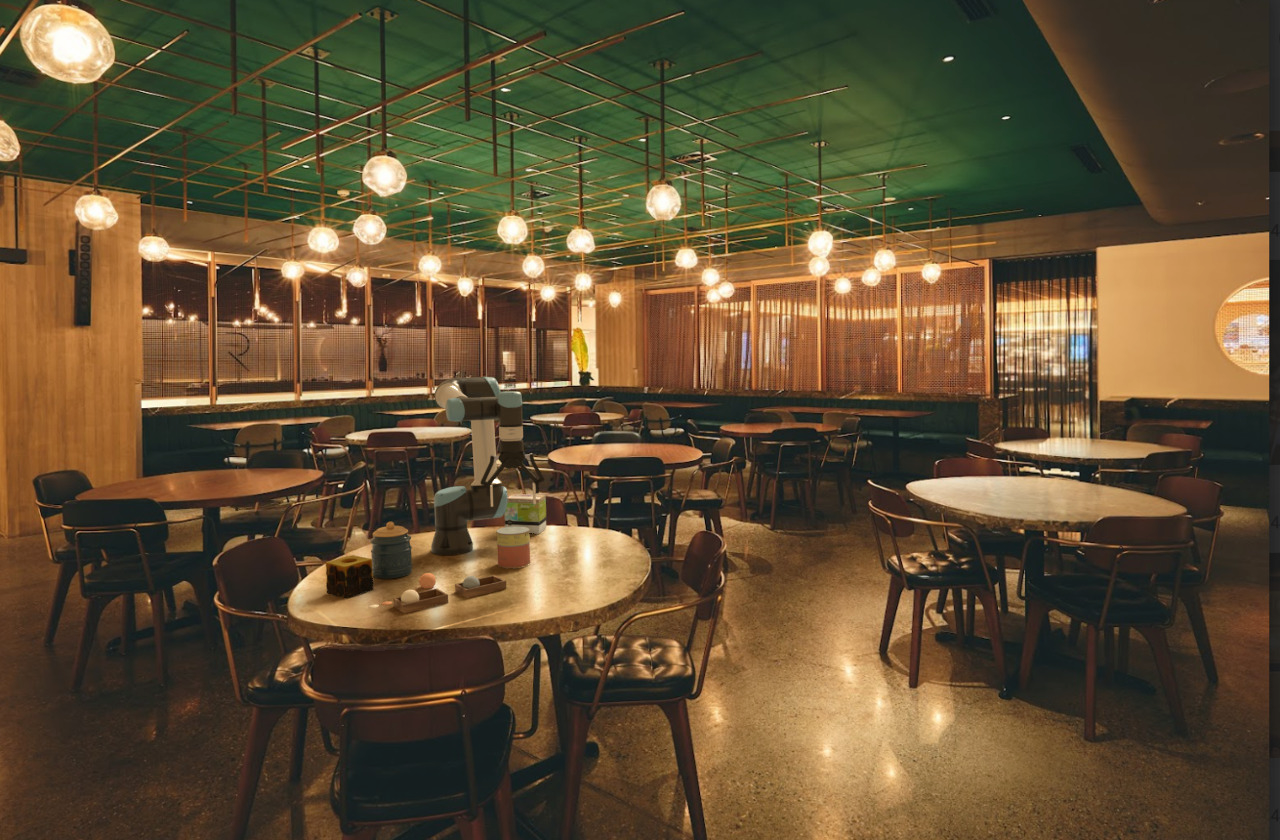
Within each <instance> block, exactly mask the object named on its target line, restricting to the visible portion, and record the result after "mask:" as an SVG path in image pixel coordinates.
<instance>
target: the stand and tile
mask: <svg viewBox="0 0 1280 840" xmlns="http://www.w3.org/2000/svg"><path fill="white" fill-rule="evenodd" d="M381 605H383V606H388V605H389V606H390V605H393V601H383V602H382V603H381ZM379 606H380V605H379V604H370V605H368V606H367V609H375V608H378V607H379Z"/></svg>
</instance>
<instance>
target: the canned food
mask: <svg viewBox="0 0 1280 840" xmlns="http://www.w3.org/2000/svg"><path fill="white" fill-rule="evenodd" d="M529 530H530V529H529V528H528V527H523V526H511V527H505V526H504V527H501V528H498V529H497V530H496V542H497V543H496V544H497V547H496V549H497V566H498V567H500V568H503V569H508V568H513V569H519V568H518V567H521V568H523V567H522V566H525V567H527V566H526V565H528V564H529V565H531V546H530V545H531V544H530V543H531V540H530V538H531V537H530V534H529ZM529 565H528V566H529Z"/></svg>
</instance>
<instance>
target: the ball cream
mask: <svg viewBox="0 0 1280 840" xmlns="http://www.w3.org/2000/svg"><path fill="white" fill-rule="evenodd" d="M418 593H419V592H417V590H414V589H407V590H405V591H404V592H402V594H401V596H400V597H401V602H403V603H404V604H407V603H412V602H416V601H419V594H418Z"/></svg>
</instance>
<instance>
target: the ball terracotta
mask: <svg viewBox="0 0 1280 840" xmlns="http://www.w3.org/2000/svg"><path fill="white" fill-rule="evenodd" d="M436 583H437V579H436V576H435V575H434V574H432V573H430V572H425V573H423V574H422V575H421V576H419V581H418V585H419V586H420V587H421V589H424V590H431V589H432V588H433V589H434V587H435V585H436Z"/></svg>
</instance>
